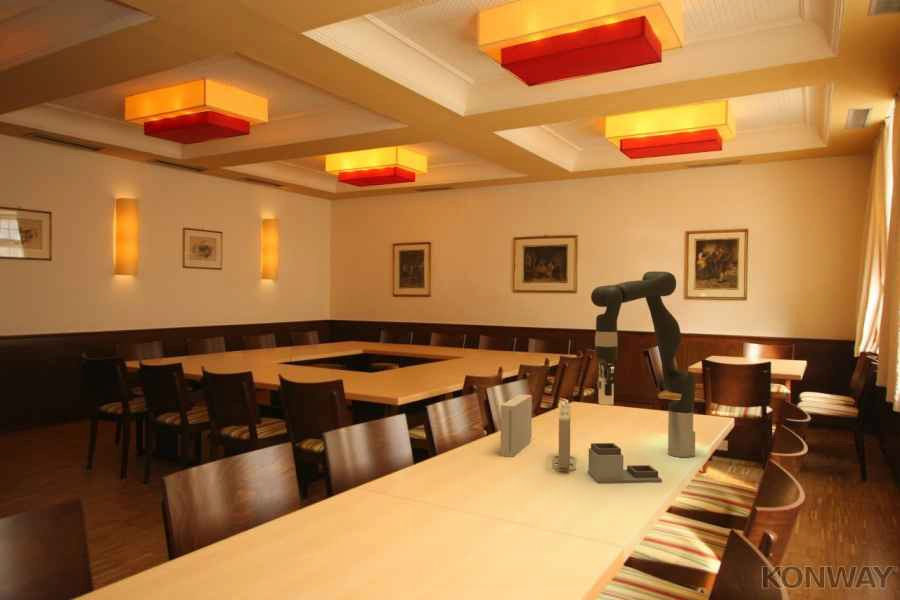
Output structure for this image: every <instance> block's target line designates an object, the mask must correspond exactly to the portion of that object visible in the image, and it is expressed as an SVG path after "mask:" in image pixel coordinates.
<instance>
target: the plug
mask: <svg viewBox="0 0 900 600" xmlns="http://www.w3.org/2000/svg"><path fill="white" fill-rule="evenodd" d="M609 380H610V378H609ZM614 385H615V383H614V384H612V395H611V396H606V395H605V378H603V377H599V380H597V382H596V386H597V387H596V388H597V389H598V404H600V405H602V406H607V405H608V406H609V405H610V406H611V405H612V406H613V405H615V404H614V399H615V398H614V397H615V393H614V391H615V386H614Z"/></svg>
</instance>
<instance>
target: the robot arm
mask: <svg viewBox="0 0 900 600" xmlns="http://www.w3.org/2000/svg"><path fill="white" fill-rule="evenodd" d="M676 288H677V279H676V277H675V275H674V274H673V273H671V272H670V271H651V270H650V271H646V272H645V273H644V274H643V276H642V278H641V280H639V279H638V280H630V281H626V282H620V283H618V284H616V283H615V284H613V285H612V284H609V285H601V286H597V287H595V288H594V289H593V290H592V292H591V294H590V300H591V303H592V304H593V305H594V306H597V307H598V308H606V309H605V311H604V313H600V314H598V315H597V316H596V319H595V336H594V357H595V359H599V362H597V364H596V369H597V370H596V371H597V378H598V380H597V381H599V377H603V378H605V395H606V396H611V395H612V384H614V385H615V382H616V371H617V367H616V366H614V364H613V360H617V359H618V357H619V356H618V353H619V352H618V350H619V349H618V347H619V345H618V344H619V342H618V339H619V338H618V318H619V314H620V310H621V307H622V304H625V303H628V302H632V301H636V300H640V299H644V298H645V302H646V304H647V306H648V310H649V313H650V317H651V321H652V326H653V329H654V335H655V339H656V344H657V348H658V352H659V358H660V363H661V364H660V365H661V371H662V377H663V385H664V388H665V390H666V391H667V392H668V393H672V394H678V395H681V396H680V399H679V400H676V401H675V400H674V401H671V402H669V403H668V405H667V406H668V414H667V415H668V416H667V417H668V418H667V419H668V420H667V422H668V424H667V425H668V427H667V428H668V429H667V430H668V431H667V435H668V436H667V437H668V438H667V454H668V455H670V456H672V457H676V458H691V457H695V456H696V431H694V407H695V398H696V381H697V380H696V376H695V374H694V372H692V371H690V370H680V369H676V366H675V358H676V355H677V353H678V352H679V349H680V347H681V344H682V341H683V338H682V334H681V328H680V325H679V323H678V321H677V319H676V317H674V316H673V314H672V313H671V312H670V310H668V309H667V307H666V306H665V304H664V302H663V300H662V297H668V296H671V295H672V294H673V293H674V292H675V290H676ZM609 378H610V380H609Z"/></svg>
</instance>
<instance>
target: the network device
mask: <svg viewBox="0 0 900 600" xmlns="http://www.w3.org/2000/svg"><path fill="white" fill-rule="evenodd" d="M558 415H559V416H558V454H557V455H553V456H552V461H551V465H550V466H551V470H553V469H554V471H557V470H559V471H558V472H575V471H576V470H577V457H575V456H572V455H571V404H560V407H559V414H558ZM557 457H558V458H557ZM556 458H557V459H558V460H556ZM571 458H573V459H572V461H571ZM555 464H559V465H558V467H555V466H556V465H555ZM570 466H572V468H570Z"/></svg>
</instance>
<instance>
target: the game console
mask: <svg viewBox="0 0 900 600" xmlns="http://www.w3.org/2000/svg"><path fill="white" fill-rule="evenodd" d="M532 397H533V396H532V395H531V394H521V393H520V394H517V395H516V396H514V397H512V398H511V399H510V400H508V401H506V402H504V403H502V404H500V456H502V457H508V456H509V458H514V457H515V456H517V455H518V454H519V453H520V452H521V451H522V450H523V449H525V448H526V447H527V446H528V445H529V444H530V443H531V440H532V434H533V433H532V416H533V414H532V412H533V411H532V410H533V408H532V407H533V405H532V403H533V401H532V400H533V398H532ZM525 446H526V447H525ZM517 453H518V454H517ZM516 454H517V455H516Z"/></svg>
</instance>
